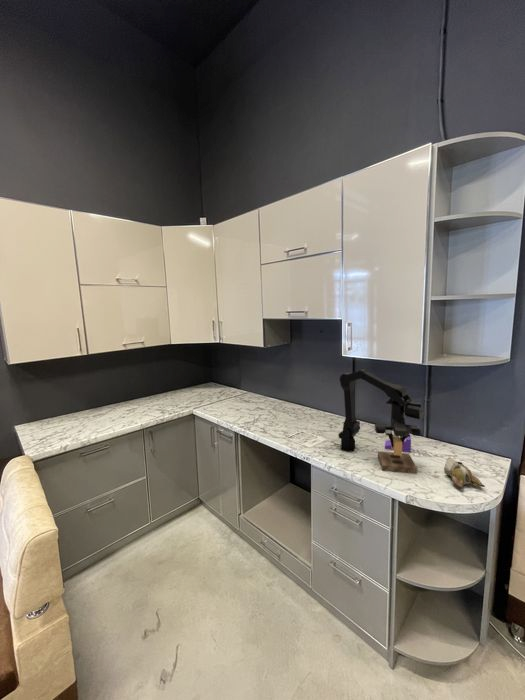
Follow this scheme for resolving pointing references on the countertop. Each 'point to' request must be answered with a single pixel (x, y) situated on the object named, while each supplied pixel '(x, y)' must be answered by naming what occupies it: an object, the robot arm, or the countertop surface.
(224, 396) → the countertop surface
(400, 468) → the brown slotted square board
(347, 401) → the robot arm
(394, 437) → the tan wooden block
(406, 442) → the bracket
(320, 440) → the photo frame
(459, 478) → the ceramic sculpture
